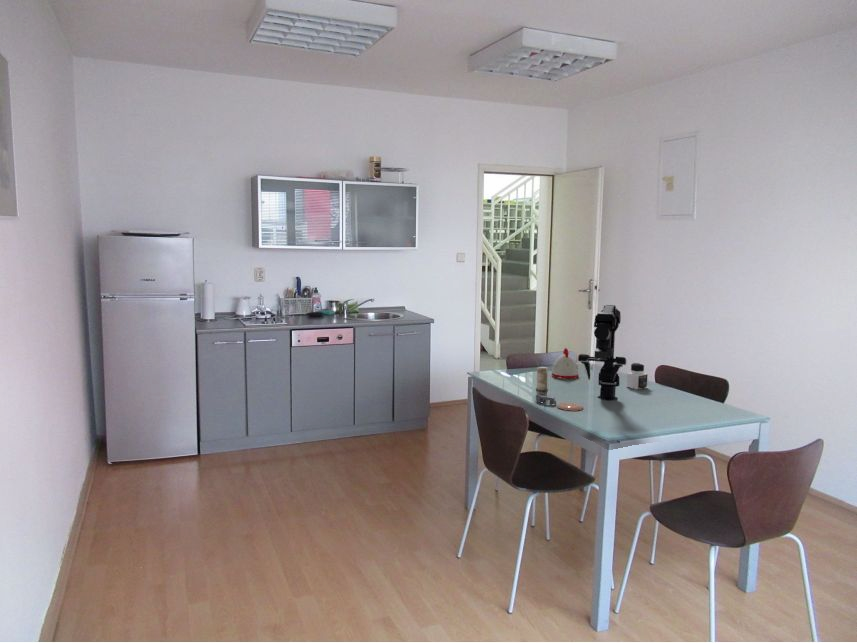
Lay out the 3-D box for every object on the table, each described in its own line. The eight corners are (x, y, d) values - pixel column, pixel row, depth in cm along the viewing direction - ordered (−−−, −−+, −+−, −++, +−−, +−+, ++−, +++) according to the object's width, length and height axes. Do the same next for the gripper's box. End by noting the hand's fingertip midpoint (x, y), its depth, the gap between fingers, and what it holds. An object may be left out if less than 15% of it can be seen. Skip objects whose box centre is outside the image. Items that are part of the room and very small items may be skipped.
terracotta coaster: (570, 403, 285) (570, 401, 285) (588, 408, 276) (588, 407, 276) (551, 406, 280) (551, 405, 280) (569, 412, 270) (569, 411, 270)
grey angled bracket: (541, 398, 294) (541, 391, 293) (560, 404, 283) (560, 397, 283) (529, 399, 290) (529, 393, 290) (548, 406, 279) (548, 399, 279)
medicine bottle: (638, 389, 310) (639, 365, 309) (625, 387, 316) (627, 363, 315) (647, 387, 315) (648, 364, 313) (634, 385, 320) (636, 361, 319)
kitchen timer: (554, 379, 333) (555, 350, 331) (549, 373, 347) (549, 346, 345) (581, 378, 334) (582, 350, 332) (574, 373, 347) (575, 346, 345)
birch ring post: (542, 393, 303) (543, 366, 301) (550, 395, 298) (551, 368, 297) (533, 394, 300) (533, 367, 299) (540, 397, 296) (541, 369, 294)
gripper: (577, 339, 258) (574, 377, 257) (625, 342, 252) (623, 381, 250) (581, 342, 269) (578, 379, 267) (627, 345, 262) (625, 383, 260)
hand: (600, 380), depth 261 cm, fingers open, 9 cm apart
